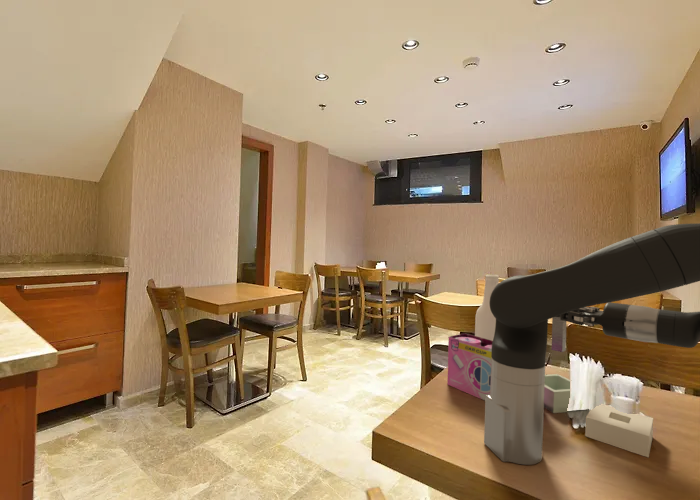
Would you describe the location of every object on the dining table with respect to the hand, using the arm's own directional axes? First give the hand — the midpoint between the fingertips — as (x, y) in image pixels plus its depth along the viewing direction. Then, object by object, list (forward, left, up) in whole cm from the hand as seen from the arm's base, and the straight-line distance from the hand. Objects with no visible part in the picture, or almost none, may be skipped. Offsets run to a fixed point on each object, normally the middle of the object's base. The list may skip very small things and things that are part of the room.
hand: (546, 309), depth 90 cm
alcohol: (-4, +19, -23) cm, 30 cm away
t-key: (+2, -3, -10) cm, 10 cm away
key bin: (+1, -2, -23) cm, 23 cm away
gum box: (-13, +3, -23) cm, 27 cm away
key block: (+2, -18, -23) cm, 29 cm away
